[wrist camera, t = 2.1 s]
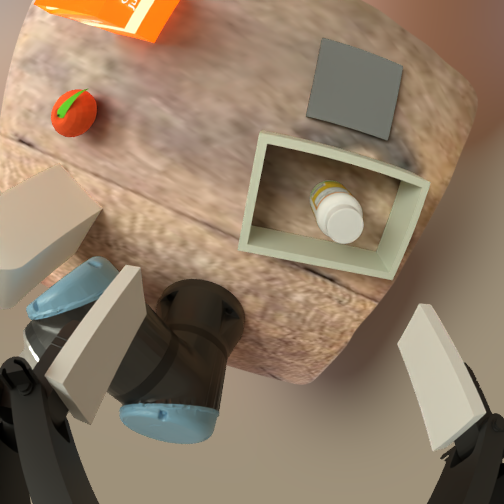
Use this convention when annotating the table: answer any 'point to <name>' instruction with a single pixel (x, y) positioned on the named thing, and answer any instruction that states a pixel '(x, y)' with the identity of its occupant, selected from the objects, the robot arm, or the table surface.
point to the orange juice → (116, 15)
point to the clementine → (74, 113)
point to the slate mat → (354, 89)
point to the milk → (40, 229)
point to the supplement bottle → (336, 212)
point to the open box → (330, 252)
